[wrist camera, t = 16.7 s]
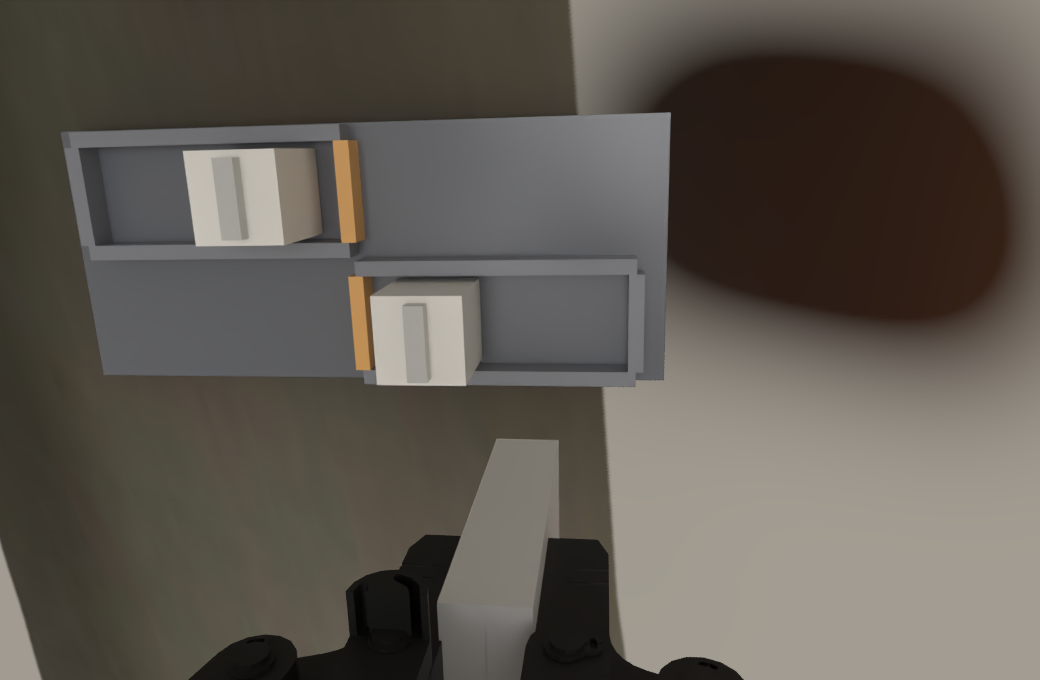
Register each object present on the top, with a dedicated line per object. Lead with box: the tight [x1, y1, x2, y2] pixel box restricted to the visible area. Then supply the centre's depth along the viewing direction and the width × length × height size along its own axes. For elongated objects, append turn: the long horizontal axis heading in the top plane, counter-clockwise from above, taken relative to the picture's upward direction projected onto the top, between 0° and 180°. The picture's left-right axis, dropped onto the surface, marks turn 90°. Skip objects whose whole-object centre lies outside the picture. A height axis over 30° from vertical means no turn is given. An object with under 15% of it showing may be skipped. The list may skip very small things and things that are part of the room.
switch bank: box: [61, 113, 671, 387], centre depth 40 cm, size 14×33×4 cm, turn 91°
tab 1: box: [183, 148, 323, 246], centre depth 37 cm, size 4×4×6 cm
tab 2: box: [370, 278, 482, 386], centre depth 37 cm, size 4×4×6 cm
